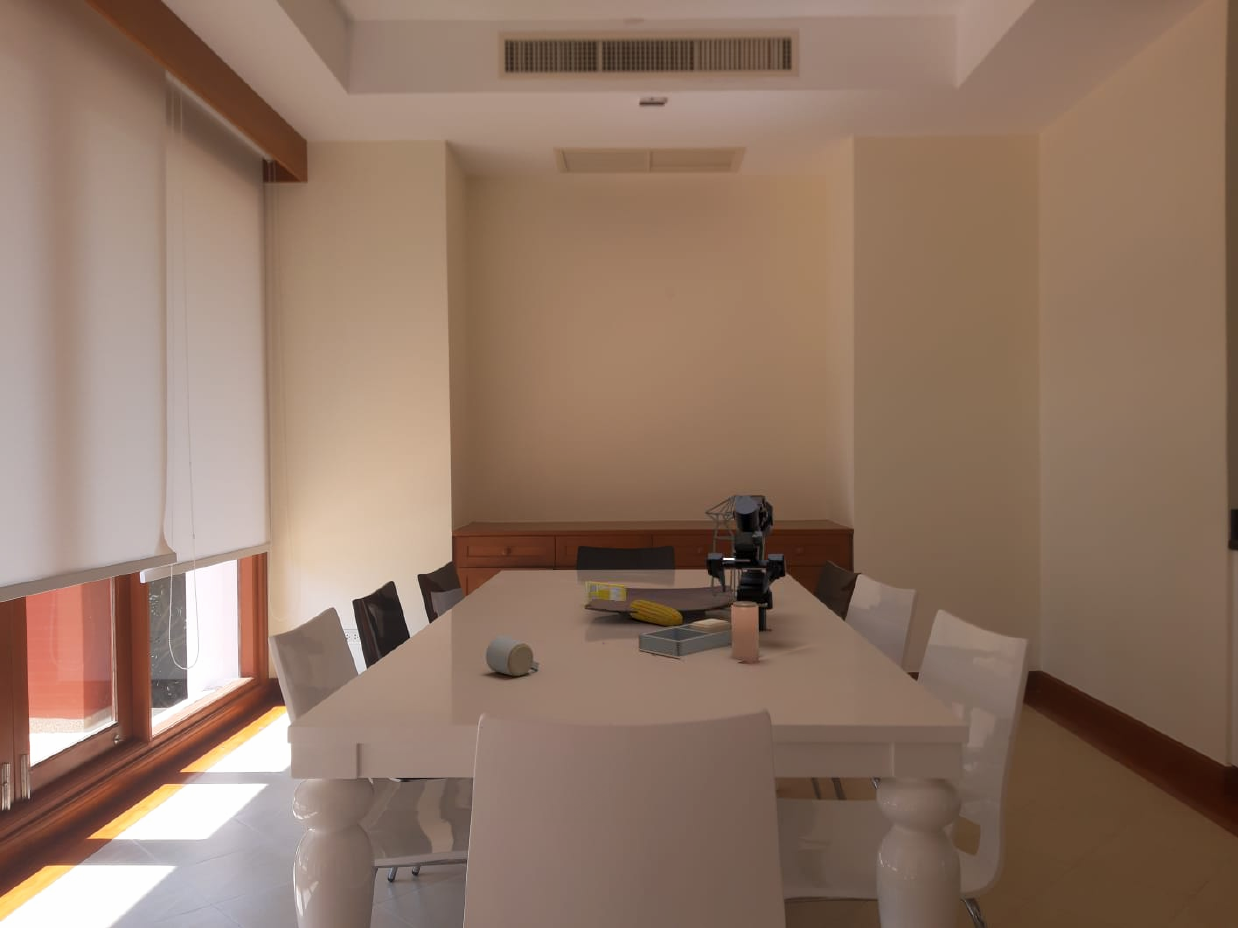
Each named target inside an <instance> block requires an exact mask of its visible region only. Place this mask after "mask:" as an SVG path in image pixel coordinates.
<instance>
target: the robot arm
mask: <svg viewBox="0 0 1238 928" xmlns="http://www.w3.org/2000/svg"><path fill="white" fill-rule="evenodd" d="M742 497H743V498H741V499H739V500H737V501H736V500H735V501H736V502H735V501H734V502H735V503H733V509H732V512H733V515H732V516H733V518H732V519H734V521H735V526H736V527H737V531H735V532H734V533H733V535H734V547H733V557H734V556H735V559H734V558H733V559H731V558H728V557H727V558H726V557H724V553H723V552H715V553H713V552H708V554H707V555H705V556H706V557H705V563H706V571H707V575H708V576H709V577H710V576H711V577H712V576H713V577H714V579H717V581H718V582H719V584H720V586H721V591H723V592H722V594H726V592H725V590H727V589H726V573H725V570H726V568H727V569H731V568H733V569H734V568H735V569H737V570H738V569H740V570H741V569H743V570H746V571H743V572H742V573H741V572H740V584H739V586H738V585H737V586H736V590H737V592H736V596H737V601H736V602H738V601H751V602H756V605H758V625H759V632H761V631H769V632H771V631H772V628H767V611H770V610H773V609H774V603H773V602H774V601H773V599H774V598H773V592H772V590H771V588H770V586H771V585H772V584H773V583H774V582H775V581H776V580H780V579H781V578H784V577H786V574H787V572H786V571H787V566H786V556H785V554H783V553H768V555H767V559H765V542H766V539H767V538H768V537H769V536H770V535H771V534H772V527H773V526H774V525H775V524H774V523H775V520H774V519H775V518H774V517H775V516H774V506H772V505H771V504H770V503H769V502H768V501H767V499H766V495H763V494H760V495H758V494H747V495H745V494H743V495H742ZM764 559H765V560H764Z"/></svg>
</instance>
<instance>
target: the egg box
mask: <svg viewBox="0 0 1238 928" xmlns="http://www.w3.org/2000/svg"><path fill="white" fill-rule="evenodd" d="M692 623H693V624H692ZM692 623H690V624H691V625H690V630H696V631H702V632H708V633H717V632H722V631H726V630H730V624H731V622H728V621H727V620H722V619H717V618H707V619H703V620H699V621H694V622H693V621H692Z"/></svg>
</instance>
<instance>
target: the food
mask: <svg viewBox="0 0 1238 928" xmlns="http://www.w3.org/2000/svg"><path fill="white" fill-rule="evenodd" d="M629 607H630V608H632V609H633V610H636V611H637V612H638V613H629V615H630V616H631V617H632V618H634V619H636V620H638V621H642V622H646V623H650V624H654V625H655V624H656V625H661V626H665V627H672V626H673V627H675V626H682V623H683V616H682V614H681V612H679V611H678V610H676V609H675V608H672V607H669V606H665V605H663V604H659V603H656V602H652V601H648V600H644V599H635V600H634V601H632V602H631V603H630V605H629Z"/></svg>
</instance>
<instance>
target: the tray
mask: <svg viewBox="0 0 1238 928" xmlns="http://www.w3.org/2000/svg"><path fill="white" fill-rule="evenodd" d="M691 624H693V622H692V623H689V624H684V625H682V624H681V625H677V626H673V627H668V628H665V629H663V628H662V629H660V630H659V629H658V630H653V631H649V632H645V633H644V632H643V633H638V649H639V650H638V652H641V653H646V654H651V655H655V656H661V657H665V658H669V659H674V660H679V661H680V660H681V658H678V657H681V656H687V655H690V654H695V653H699V652H703V651H708V650H712V649H716V648H719V647H724V646H728V645H732V623H730V630H726V631H722V632H717V633H708V632H702V631H696V630H690V625H691ZM640 649H643V650H640ZM645 650H646V651H645ZM655 652H657V653H655ZM664 654H665V655H664ZM671 655H672V656H671ZM674 656H676V657H674Z"/></svg>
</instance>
